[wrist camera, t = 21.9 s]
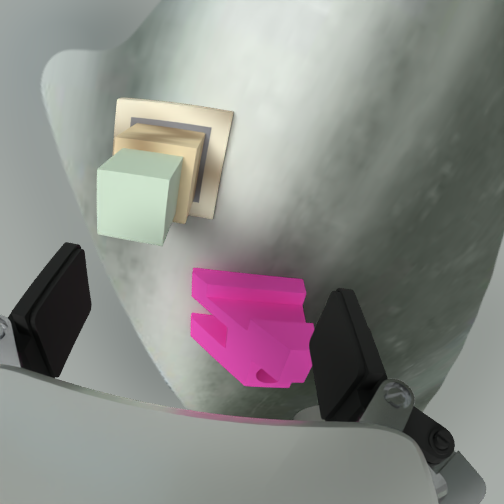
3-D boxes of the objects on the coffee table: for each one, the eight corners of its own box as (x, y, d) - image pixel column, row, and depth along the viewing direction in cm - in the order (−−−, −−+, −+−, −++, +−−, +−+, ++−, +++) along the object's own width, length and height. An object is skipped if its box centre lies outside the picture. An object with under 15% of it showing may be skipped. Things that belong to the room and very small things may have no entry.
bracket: (302, 278, 35) (319, 351, 26) (283, 338, 41) (291, 406, 32) (193, 267, 34) (179, 340, 25) (191, 330, 39) (181, 399, 31)
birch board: (213, 214, 30) (212, 219, 29) (114, 198, 29) (110, 203, 28) (233, 111, 25) (233, 113, 24) (121, 97, 23) (117, 99, 22)
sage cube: (175, 213, 23) (162, 246, 19) (119, 203, 23) (97, 234, 19) (183, 156, 21) (169, 179, 17) (122, 147, 20) (97, 169, 16)
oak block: (205, 132, 25) (196, 148, 20) (194, 197, 28) (185, 224, 24) (136, 123, 24) (115, 137, 20) (131, 186, 27) (111, 211, 23)
